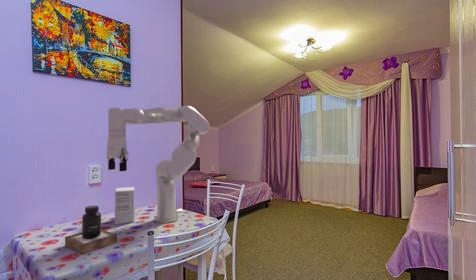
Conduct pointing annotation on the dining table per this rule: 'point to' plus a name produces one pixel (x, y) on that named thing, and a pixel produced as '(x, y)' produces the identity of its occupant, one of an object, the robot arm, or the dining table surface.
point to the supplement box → (124, 205)
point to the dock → (90, 242)
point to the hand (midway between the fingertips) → (117, 170)
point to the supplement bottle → (91, 222)
